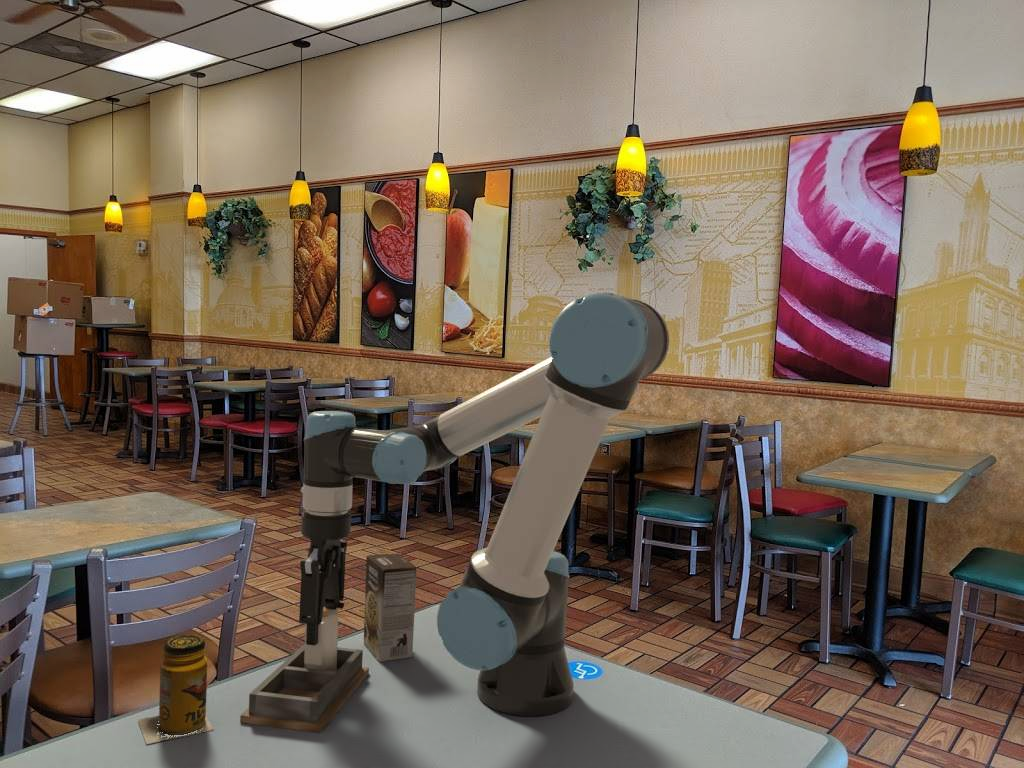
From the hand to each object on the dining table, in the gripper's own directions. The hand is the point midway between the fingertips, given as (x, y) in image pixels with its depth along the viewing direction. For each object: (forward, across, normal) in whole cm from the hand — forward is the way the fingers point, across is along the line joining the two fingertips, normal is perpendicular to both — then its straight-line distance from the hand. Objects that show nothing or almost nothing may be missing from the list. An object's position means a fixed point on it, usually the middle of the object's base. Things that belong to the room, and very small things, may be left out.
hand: (320, 655), depth 124 cm
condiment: (+5, +18, -14) cm, 23 cm away
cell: (+3, 0, 0) cm, 3 cm away
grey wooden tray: (+4, +4, 0) cm, 6 cm away
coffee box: (+5, -16, +6) cm, 17 cm away
